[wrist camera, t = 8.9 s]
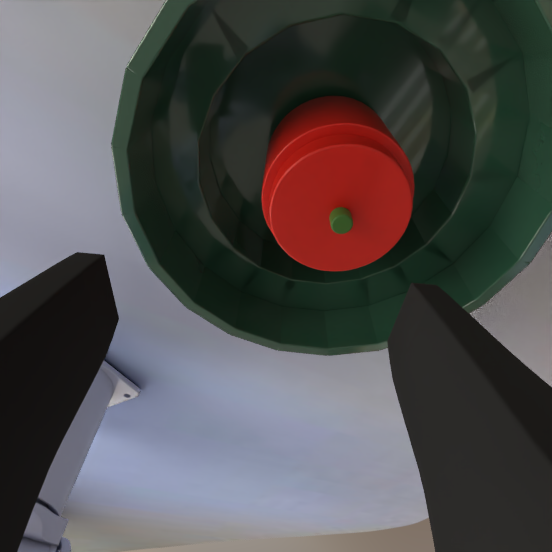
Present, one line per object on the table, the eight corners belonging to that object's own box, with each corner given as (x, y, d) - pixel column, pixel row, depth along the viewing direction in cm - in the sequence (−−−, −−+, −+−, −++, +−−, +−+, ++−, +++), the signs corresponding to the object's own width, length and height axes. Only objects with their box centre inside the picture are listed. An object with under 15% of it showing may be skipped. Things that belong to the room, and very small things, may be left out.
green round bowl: (266, 311, 23) (260, 388, 18) (87, 79, 15) (5, 116, 11) (524, 211, 18) (598, 282, 14) (458, -198, 10) (578, -330, 6)
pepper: (299, 225, 18) (303, 308, 14) (244, 131, 16) (225, 193, 11) (402, 178, 17) (447, 254, 12) (361, 63, 14) (398, 102, 9)
